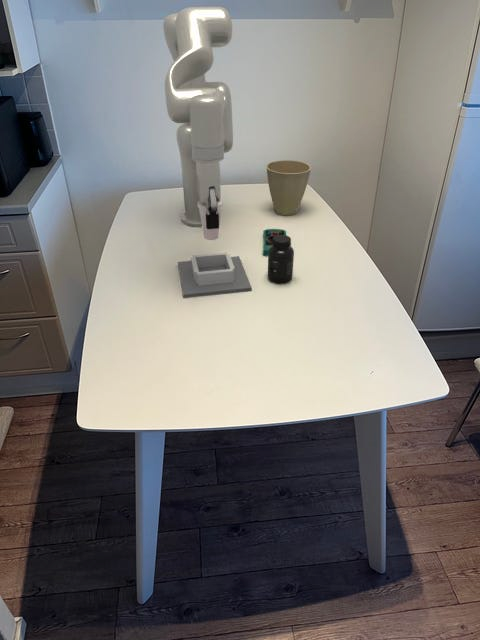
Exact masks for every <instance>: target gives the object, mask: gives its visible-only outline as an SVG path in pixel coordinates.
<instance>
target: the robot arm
mask: <svg viewBox="0 0 480 640" xmlns="http://www.w3.org/2000/svg"><path fill="white" fill-rule="evenodd" d="M162 24H163V26H162V27H163V36H164V39H165V42H166V45H167V48H168V51H169V53H170V55H171V57H172V60H173V62H172V64H171V66H170V67H169V69H168V71H167V73H166V76H165V80H164V94H165V102H166V103H165V104H166V112H167V115H168V117H169V119H170V120H171V121H172V122H174V123H176V124H180V125H179V126H178V127H177V130H176V142H177V147H178V151H179V156H180V163H181V172H182V173H181V176H182V186H183V187H182V188H183V200H184V201H183V202H184V203H183V204H184V213H182V214H181V216H180V221H181V222H182V223H183V224H184V225H186V226H191V227H202V222H201V216H200V211H199V208H198V206H197V205H198V201H199V200H200V202H201V203H202V204H204V203H206V210H207V214H206V228H207V229H218V228H219V229H220V226H219V213H218V202H220V199H221V194H222V193H221V168H220V167H221V164H220V162H221V161H223V160H224V158H225V154H226V153H229V152H230V151H231V150H232V148H233V144H234V130H233V127H234V126H233V107H232V105H233V103H232V95H231V90H230V88H229V86H228V85H227V84H226V82H223V81H207V80H206V73H208V72H209V71H210V70H211V68H212V66H213V64H214V59H215V58H214V53H213V52H214V51H213V48H223V47H226V46H228V45H230V43H231V40H232V38H233V37H232V36H233V21H232V18H231V15H230V13H229V11H228V10H227V9H226V8H224V7H221V6H191V7H185V8H183V9H181V10H179V12H177V13H172V14H168V15H167V16H166V17H165V18H164V19H163V23H162ZM208 199H210V202H208ZM209 204H211V206H210V207H209Z"/></svg>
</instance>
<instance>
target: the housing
mask: <svg viewBox="0 0 480 640" xmlns="http://www.w3.org/2000/svg"><path fill="white" fill-rule="evenodd" d="M190 259H191V260H185V261H183V260H182V261H177V268H178V273H179V279H180V284H181V289H182V296H183V298H184V299H186V298H195V297H196V298H197V297H204V296H216V295H224V294H235V293H243V292H252V291H253V290H252V289H253V288H252V285H251V283H250V280H249V277H248V275H247V273H246V270H245V267H244V265H243V263H242V260H241V258H240V256H239V255H237V256H231V255H230V253H228V252H216V253H207V254H206V253H205V254H203V253H202V254H195V255H192V257H190Z"/></svg>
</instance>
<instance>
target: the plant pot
mask: <svg viewBox="0 0 480 640" xmlns="http://www.w3.org/2000/svg"><path fill="white" fill-rule="evenodd" d="M311 169H312V167H311V165H310V164H309V163H306V162H303V161H299V160H294V159H289V160H288V159H282V160H281V159H280V160H275V161H271V162H269V163H267V164H266V175H267V184H268V188H269V189H268V190H269V193H270V194H269V195H270V198H271V201H272V205H273V207H274V212H275V213H277V214H278V215H282V216H291V215H294V214H295V215H296V213H297V211H298V209H299V207H300V204H301V203H302V200H303V198H304V195H305V192H306V188H307V185H308V182H309V178H310V174H311Z"/></svg>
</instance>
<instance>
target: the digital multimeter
mask: <svg viewBox="0 0 480 640" xmlns="http://www.w3.org/2000/svg"><path fill="white" fill-rule="evenodd" d="M276 235H287V231H286V230H285V229H281V228H268V229H267V228H266V229H263V233H262V237H263V246H262V255H263V256H264V257H268V251H269V248H270V247H271V246H272V242H273V237H274V236H276Z"/></svg>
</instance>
